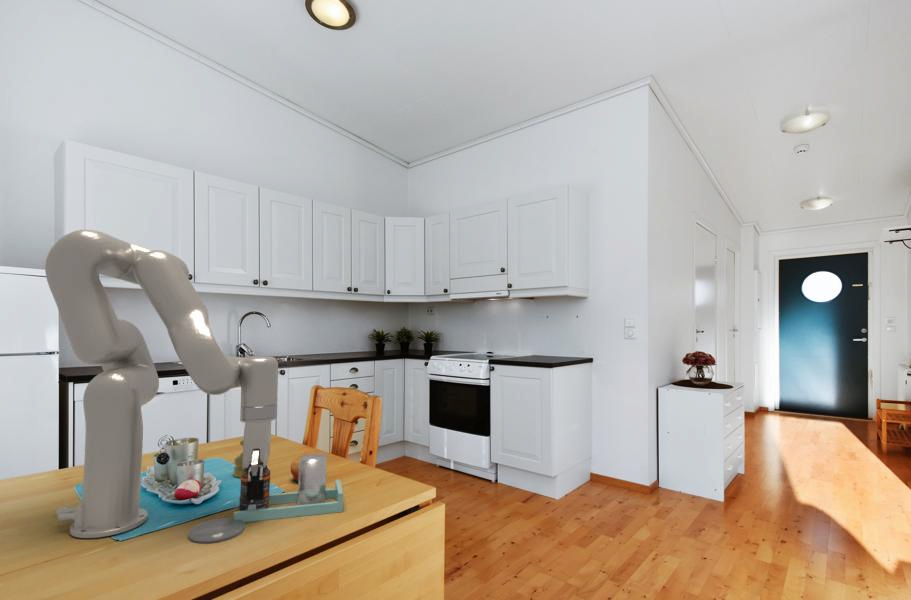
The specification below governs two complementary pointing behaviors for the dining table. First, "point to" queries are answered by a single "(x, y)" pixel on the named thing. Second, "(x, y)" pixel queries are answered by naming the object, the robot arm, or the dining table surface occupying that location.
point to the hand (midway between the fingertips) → (257, 491)
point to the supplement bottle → (258, 503)
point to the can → (312, 479)
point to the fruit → (297, 466)
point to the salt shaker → (238, 464)
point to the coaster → (216, 530)
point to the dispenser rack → (293, 510)
